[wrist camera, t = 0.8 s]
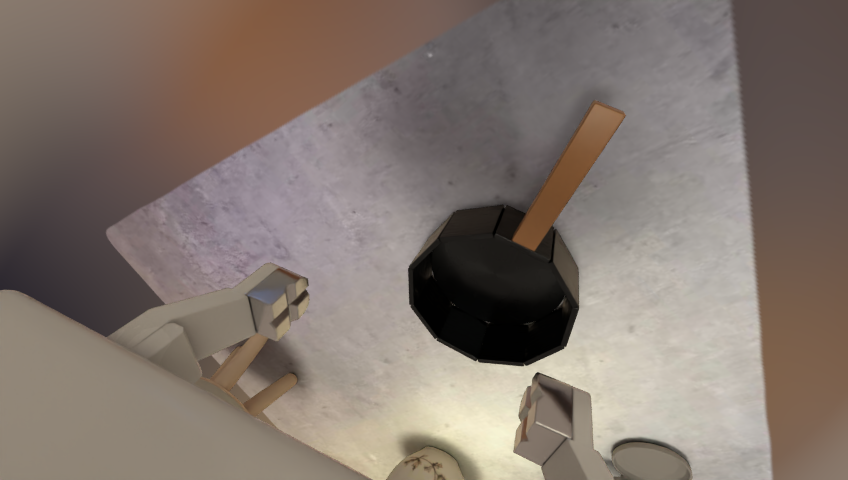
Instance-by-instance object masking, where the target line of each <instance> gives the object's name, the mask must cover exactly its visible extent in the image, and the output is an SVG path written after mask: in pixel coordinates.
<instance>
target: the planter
mask: <svg viewBox="0 0 848 480" xmlns="http://www.w3.org/2000/svg"><path fill="white" fill-rule="evenodd" d="M268 339H269V338H267V337H265V336H262V335H260V334H258V333H256V335H254V336H251V337H250V338H249V339H248V340H247V341H246V343H245V344H244V345H243V346H239V347H237V348H236V349H235V350H234V351H233V352H232V353H231V354H230V355H229V357H228V358H227V359H226V360H225V361H224V363H223V364H222V365H221V366H220V368H219V369H218V370H217V371H216V372H215V374H214V375H213V376H212V377H211V378H210V379H206V378H204V377H201V378H200V379H199V380H198V381H197V382H195V383H194V385H196V386H198V387H200V388H202V389H204V390H206V391H207V392H209V393H211V394H213V395H215V396H217V397H219V398H221V399H222V400H224V401H226V402H228V403H230V404H232V405H234V406H236V407H237V408H239V409H241V410H243V411H245V412H247V413H249V414H251V415H252V416H254V417H256V416H257V415H258V414H259V413H261V412H262V411H263V410H264V409H265V408H267V407H268V406H269V405H270V404H272V403H273V402H274V401H275V400H277V399H278V398H279V397H280V396H282V395H283V394H284V393H286V392H287V391H288V390H289V389H291V388H292V387H293V386H294V385H295V384H296V383H297V377H296V376H295V375H294V374H291V373H289V374H286V375H285V376H283V377H282V378H280V379H279V380H277V381H276V382H274V383H273V384H271V385H270V386H268V387H267V388H265V389H264V390H262V391H261V392H259V393H258V394H256V395H255V396H253V397H252V398H251V399H249V400H248V401H246V402H245V403H244V404H242V403H241V402H240V401H239V400H238V399H237V398H236V397H235V396H233V395H232V394H231V393H230V392H229V391H230V390H231V389H232V388H233V386H234V385H235V384H236V382H237V381H238V380H239V378H240V377H241V376H242V374H243V373H244V372H245V370H246V369H247V368H248V366H249V365H250V364H251V362H252V361H253V360H254V358H255V357H256V355H257V354H258V353H259V351H260V350H261V349H262V347H263V346H264V344H265V343H266V342H267V340H268Z"/></svg>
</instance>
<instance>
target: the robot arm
mask: <svg viewBox="0 0 848 480" xmlns="http://www.w3.org/2000/svg"><path fill="white" fill-rule="evenodd" d="M308 286H309V285H308V279H307V278H305V277H303V276H301V275H298V274H296V273H294V272H292V271H289V270H287V269H285V268H283V267H280V266H278V265H275V264H273V263H271V262H270V263H266V264H264V265H263V266H262V267H260V268H259V269H258V270H256V271H255V272H254V273H252V274H251V275H250V276H249V277H247V278H246V279H245V280H243V281H242V282H241V283H239V284H238V285H237V286H235V287H234V288H233V289H230V288H226V289H222V290H218V291H215V292H211V293H207V294H204V295H200V296H196V297H192V298H189V299H185V300H181V301H178V302H174V303H170V304H166V305H163V306H159V307H155V308H152V309H149V310H147V311H146V312H144V313H143V314H142V315H140V316H138V317H137V318H135V319H134V320H132V321H131V322H129V323H128V324H126V325H125V326H123V327H122V328H120V329H119V330H117V331H116V332H114V333H113V334H111V335H110V336H108V337H107V338H106V337H104V336H102V335H101V334H99V333H97V332H95V331H93V330H91V329H89V328H87V327H85V326H84V325H82V324H80V323H78V322H76V321H74V320H72V319H70V318H68V317H67V316H65V315H63V314H61V313H59V312H57V311H55V310H53V309H52V308H50V307H48V306H46V305H44V304H42V303H40V302H38V301H37V300H35V299H33V298H31V297H29V296H27V295H26V294H23V293H21V292H18V291H13V290H1V291H0V480H372V479H371V478H369V477H367V476H365V475H363V474H361V473H359V472H357V471H356V470H354V469H352V468H350V467H348V466H346V465H344V464H342V463H341V462H339V461H337V460H335V459H333V458H331V457H329V456H327V455H326V454H324V453H322V452H320V451H318V450H316V449H314V448H312V447H311V446H309V445H307V444H305V443H303V442H301V441H299V440H298V439H296V438H294V437H292V436H290V435H288V434H286V433H284V432H283V431H281V430H279V429H277V428H275V427H273V426H271V425H269V424H268V423H266V422H264V421H262V420H260V419H258V418H256V417H254V416H252V415H251V414H249V413H247V412H245V411H243V410H241V409H239V408H237V407H236V406H234V405H232V404H230V403H228V402H226V401H224V400H222V399H221V398H219V397H217V396H215V395H213V394H211V393H209V392H207V391H206V390H204V389H202V388H200V387H198V386H196V385H194V383H195V382H197V381H198V380H199V379H200V378H201V377H202V370H201V368H200V366H199V363H198V361H199V360H201V359H203V358H206V357H208V356H210V355H212V354H214V353H217V352H219V351H221V350H223V349H225V348H227V347H230V346H232V345H234V344H236V343H238V342H241V341H243V340H245V339H247V338H249V337H251V336H254V335H256V333H258V334H260V335H262V336H265V337H267V338H269V339H272V340H274V341H276V342H277V341H278V340H279V339H280V338H281V337H282V336H283V335H284V334H285V333H286V332H287V331H288V330H289V329H290V326H291V322H292V321H294V320H297V319H299V318H300V317H301V316H302V315H303V314H304V312H305V311H306V309H307V307H308V304H309V300H310V299H309V294H308V292H307V290H306V288H307V287H308ZM518 416H519V419H520V421H521V424H520V425H519V427H518V428H517V430H516V436H515V443H514V451H513V452H514V453H516V454H518V455H520V456H522V457H524V458H526V459H528V460H530V461H532V462H534V463H536V464H538V465H540V466H542V467H541V469H542V472H543V475H544V477H545V480H614V478H613V476H612V474H611V472H610V471H609V469H608V467H607V465H606V464H605V462H604V460H603V458H602V456H601V455H600V453H599V452H598V451H596V450H594V448H593V428H592V407H591V396H590V394H589V393H588V392H585V391H583V390H580V389H578V388H575V387H573V386H570V385H569V384H566V383H564V382H561V381H559V380H556V379H554V378H551V377H549V376H546V375H544V374H541V373H539V372H537V373H536V374H535V376H534V377H533V379H532V386H528V387H527V389H526V391H525V392H524V395H523V398H522V400H521V404H520V409H519V415H518Z"/></svg>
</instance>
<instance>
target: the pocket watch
mask: <svg viewBox="0 0 848 480" xmlns="http://www.w3.org/2000/svg"><path fill="white" fill-rule="evenodd" d="M612 463H613V466H614V467H615V469H616V470H617V471H618V472H619V473H620V474H622V475H621V476H620V477H613V478H614V480H692V471H691V468H690V466H689V464H688V463H687V462H686V460H685V459H683V458H682V457H681V456H680V455H678V454H677V453H675V452H673V451H671V450H669V449H668V448H665V447H661V446H658V445H655V444H651V443H642V442H631V443H626V444H622V445H620V446H618V447H616V448H615V450H614V451H613V453H612Z"/></svg>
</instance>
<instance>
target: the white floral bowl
mask: <svg viewBox="0 0 848 480" xmlns="http://www.w3.org/2000/svg"><path fill="white" fill-rule="evenodd" d="M386 480H464V478H463V476H462V473H461V471H460V469H459V465H458V463H457V461H456V460H455V459H454V458H453V457H452V456H450V455H449V454H447V453H446V452H444V451H442V450H439V449H436V448H434V447H428V446H427V447H425V448H423V449H422V450H420V451H418V452H415V453H413V454H411V455H409V456H408V457H406V458H405V459H404V460H402V461H401V462H400V463H399V464H398V465H397V466H396V467H395V468H394V469H393V471H392V472H391V473H390V475H389V476H388V478H387V479H386Z"/></svg>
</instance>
